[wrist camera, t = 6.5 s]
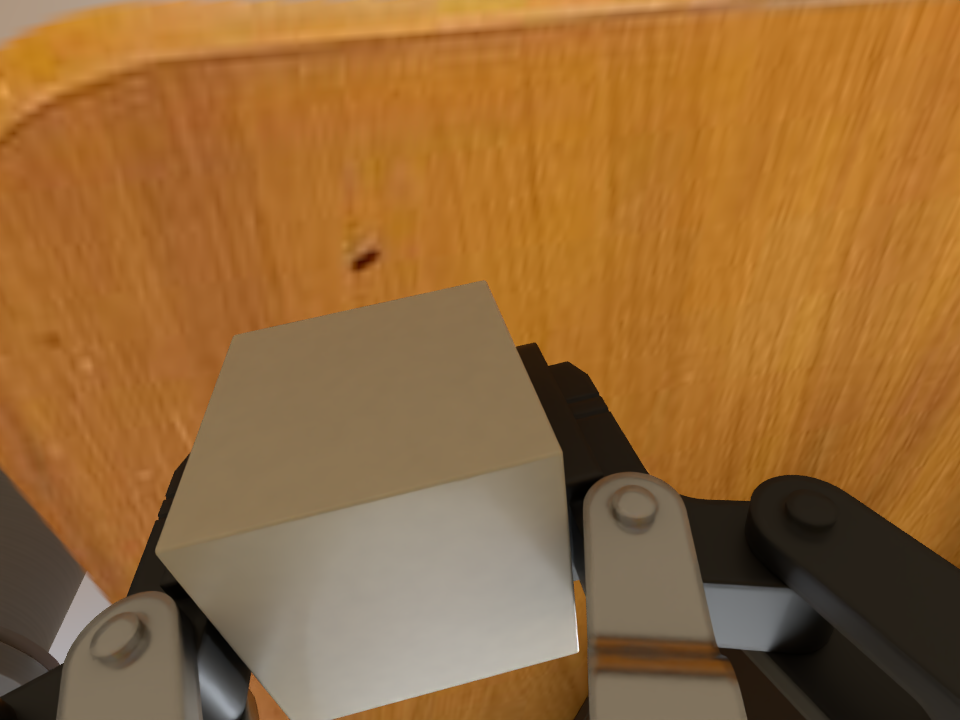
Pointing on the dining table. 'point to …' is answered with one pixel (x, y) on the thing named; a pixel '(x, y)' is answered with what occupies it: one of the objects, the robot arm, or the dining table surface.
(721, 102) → the dining table surface
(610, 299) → the dining table surface
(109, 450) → the dining table surface
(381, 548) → the block
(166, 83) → the dining table surface
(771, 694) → the dark grey cube
